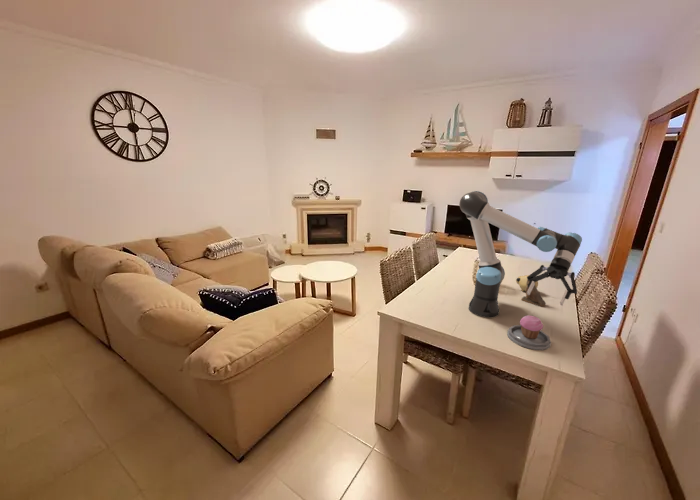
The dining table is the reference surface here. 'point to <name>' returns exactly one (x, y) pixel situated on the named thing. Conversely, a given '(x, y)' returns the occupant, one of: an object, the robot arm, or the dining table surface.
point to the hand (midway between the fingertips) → (543, 298)
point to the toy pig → (524, 282)
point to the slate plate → (535, 344)
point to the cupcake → (531, 326)
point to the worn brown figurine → (533, 297)
